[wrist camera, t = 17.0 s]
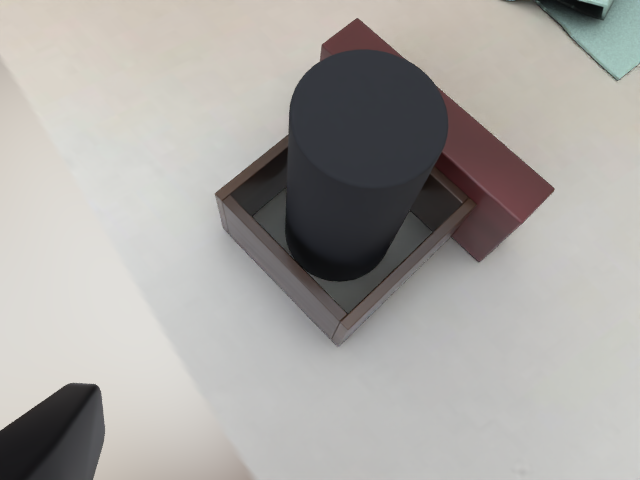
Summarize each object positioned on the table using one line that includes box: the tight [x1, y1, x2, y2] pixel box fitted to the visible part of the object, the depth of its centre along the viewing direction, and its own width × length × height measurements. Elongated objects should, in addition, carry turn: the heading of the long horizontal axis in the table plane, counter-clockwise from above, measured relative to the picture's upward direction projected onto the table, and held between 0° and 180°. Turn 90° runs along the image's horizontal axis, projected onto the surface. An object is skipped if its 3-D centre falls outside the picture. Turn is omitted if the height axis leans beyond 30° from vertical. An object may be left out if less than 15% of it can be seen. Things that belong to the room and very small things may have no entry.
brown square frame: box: [215, 18, 554, 347], centre depth 22 cm, size 9×10×4 cm
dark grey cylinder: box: [285, 49, 448, 281], centre depth 20 cm, size 4×4×9 cm
